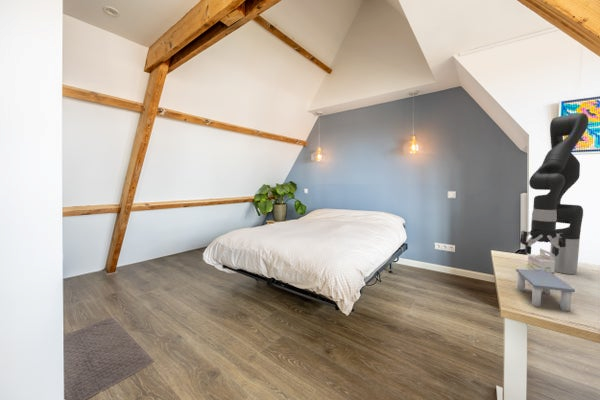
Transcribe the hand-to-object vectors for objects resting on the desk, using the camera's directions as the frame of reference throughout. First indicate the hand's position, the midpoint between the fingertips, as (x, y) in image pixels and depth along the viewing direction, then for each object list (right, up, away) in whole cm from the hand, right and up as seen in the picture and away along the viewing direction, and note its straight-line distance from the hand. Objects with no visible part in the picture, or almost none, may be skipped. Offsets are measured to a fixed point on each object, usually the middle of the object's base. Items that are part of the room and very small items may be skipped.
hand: (541, 254), depth 105 cm
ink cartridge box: (+1, -13, +2) cm, 13 cm away
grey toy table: (-12, -15, -11) cm, 22 cm away
